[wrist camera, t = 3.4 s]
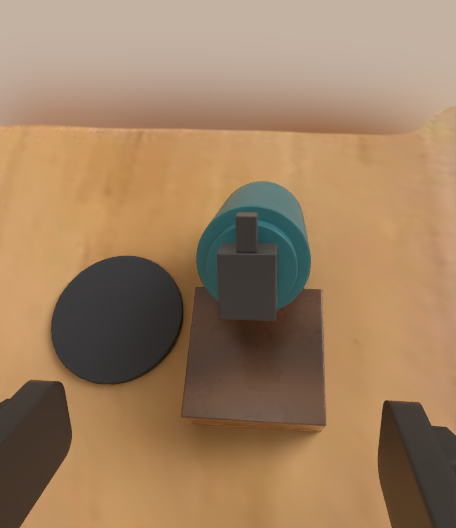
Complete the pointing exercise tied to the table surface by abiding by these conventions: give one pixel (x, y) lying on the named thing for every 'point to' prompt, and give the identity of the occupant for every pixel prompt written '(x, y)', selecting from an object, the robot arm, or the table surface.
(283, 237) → the spray bottle
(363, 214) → the table surface
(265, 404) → the walnut block
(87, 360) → the coaster
